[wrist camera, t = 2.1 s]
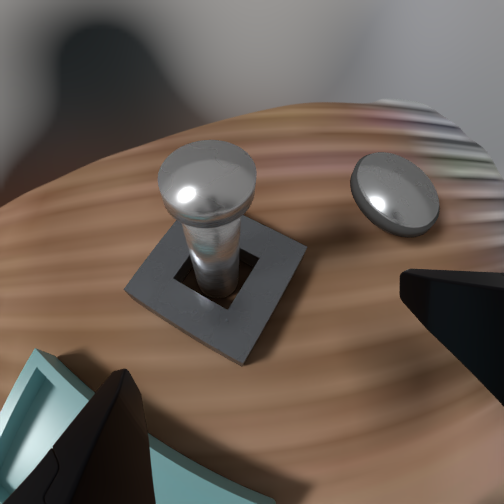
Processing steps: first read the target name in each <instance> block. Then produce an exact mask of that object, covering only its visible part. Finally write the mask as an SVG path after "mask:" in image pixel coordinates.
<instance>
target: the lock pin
mask: <svg viewBox="0 0 504 504" xmlns="http://www.w3.org/2000/svg"><path fill="white" fill-rule="evenodd" d="M255 184H256V167H255V164H254V162H253V160H252V158H251V157H250V155H249V154H248V153H247V152H245V151H244V150H243V149H241V148H240V147H238V146H236V145H234V144H231V143H228V142H224V141H218V140H203V141H197V142H193V143H190V144H187V145H184V146H182V147H180V148H179V149H177V150H175V151H174V152H173V153H171V154H170V155H169V156H168V157H167V158H166V159H165V161H164V162H163V164H162V165H161V167H160V170H159V173H158V185H159V189H160V192H161V196H162V199H163V203H164V205H165V208H166V209H167V211H168V213H169V214H170V215H171V216H172V217H173V218H175V219H176V220H177V221H179V222H181V223H182V226H183V230H184V234H185V238H186V242H187V246H188V249H189V253H190V257H191V260H192V264H193V268H194V271H195V275H196V278H197V282H198V285H199V288H200V289H201V291H202V292H203V293H204V294H205V295H207V296H209V297H211V298H224V297H227V296H229V295H230V294H231V293H233V292H234V290H235V289H236V287H237V285H238V277H239V250H240V225H241V216H242V215H243V214H244V213H245V212H246V211H247V210H248V209H249V207H250V205H251V204H252V201H253V199H254V194H255Z"/></svg>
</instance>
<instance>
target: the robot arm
mask: <svg viewBox="0 0 504 504" xmlns="http://www.w3.org/2000/svg"><path fill="white" fill-rule="evenodd" d="M400 298H401V300H402V302H403V303H404V304H405V305H406V306H407V307H408V308H409V309H410V311H411V312H412V313H413V314H414V315H415V316H416V317H417V318H418V320H419V321H420V322H421V323H422V324H423V325H424V326H425V328H426V329H427V330H428V331H429V332H430V333H431V334H433V335H434V336H435V337H436V338H437V339H438V340H439V341H440V342H441V343H442V344H443V345H444V346H445V347H446V348H447V349H448V350H449V351H450V352H451V353H452V354H453V355H454V356H455V357H456V358H457V359H458V360H459V361H460V362H461V363H462V364H463V365H464V366H465V367H466V368H467V369H468V370H469V371H470V372H471V373H472V374H473V375H474V376H475V377H476V378H477V379H478V380H479V381H480V382H481V383H482V384H483V385H484V386H485V387H486V388H487V389H488V390H489V391H490V392H491V393H492V394H493V395H494V396H495V397H496V399H497V400H498V401H499V402H500V403H501V404H502V405H503V406H504V273H494V272H471V271H449V270H428V269H408V270H406V271H404V272H402V273H401V275H400ZM52 447H53V448H51V449H50V450H49V451H48V452H47V454H46V455H45V456H44V458H43V459H42V460H41V461H40V462H39V464H38V465H37V466H36V467H35V469H34V470H33V471H32V472H31V473H30V474H29V475H28V476H27V477H26V479H25V480H24V481H23V482H22V483H21V484H20V485H19V486H18V487H17V488H16V489H15V491H14V492H13V493H12V494H11V495H10V496H9V497H8V498H7V499H6V500H5V501H4V502H3V503H2V504H156V500H155V493H154V485H153V476H152V467H151V456H150V445H149V437H148V431H147V426H146V421H145V416H144V410H143V404H142V398H141V393H140V391H139V389H138V387H137V385H136V383H135V382H134V380H133V378H132V376H131V374H130V373H129V371H128V370H127V369H120V370H116V371H113V372H112V373H111V375H110V376H109V377H108V378H107V379H106V381H105V382H104V383H103V384H102V385H101V387H100V388H99V389H98V390H97V392H96V393H95V394H94V395H93V396H92V398H91V399H90V400H89V401H88V403H87V404H86V405H85V406H84V407H83V409H82V410H81V411H80V412H79V414H78V415H77V416H76V417H75V419H74V420H73V421H72V422H71V423H70V425H69V426H68V427H67V428H66V430H65V431H64V432H63V433H62V435H61V436H60V437H59V439H58V440H57V441H56V442H55V444H54V445H53V446H52Z"/></svg>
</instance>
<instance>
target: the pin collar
mask: <svg viewBox="0 0 504 504" xmlns="http://www.w3.org/2000/svg"><path fill="white" fill-rule="evenodd" d="M306 249H307V246H305V245H303V244H301V243H299V242H297V241H295V240H293V239H291V238H289V237H287V236H285V235H283V234H281V233H279V232H277V231H275V230H273V229H271V228H268V227H266V226H264V225H262V224H260V223H258V222H256V221H254V220H252V219H250V218H248V217H246V216H244V215H242V216H241V225H240V250H239V260H241V261H243V262H244V263H246V264H248V265H250V266H252V267H254V268H253V270H252V272H251V273H250V275H249V277H248V278H247V280H246V281H245V283H244V285H243V286H242V288H241V290H240V291H239V293H238V294H237V296H236V298H235V299H234V301H233V302H232V304H231V306H230V307H229V309H228V310H227V309H225V308H223V307H221V306H220V305H218V304H216V303H214V302H213V301H211V300H209V299H207V298H206V297H204V296H202V295H200V294H199V293H197V292H195V291H194V290H192V289H190V288H188V287H187V286H185V285H183V284H182V281H183V280H184V278H185V277H186V275H187V274H188V273H189V271H190V270H191V268H192V267H193V264H192V260H191V257H190V253H189V249H188V246H187V242H186V238H185V234H184V230H183V226H182V223H181V222H179V221H177V220H176V221H175V223H174V224H173V225H172V226H171V228H170V229H169V230H168V231H167V233H166V234H165V235H164V236H163V238H162V239H161V240H160V242H159V243H158V244H157V245H156V247H155V248H154V249H153V251H152V252H151V253H150V255H149V256H148V257H147V259H146V260H145V261H144V262H143V264H142V265H141V266H140V268H139V269H138V271H137V272H136V273H135V275H134V276H133V277H132V279H131V280H130V281H129V283H128V284H127V286H126V287H125V288H124V290H125V291H126V293H127V294H128V295H129V296H130V297H131V298H132V299H133V300H135V301H136V302H138V303H139V304H140V305H142V306H143V307H145V308H146V309H148V310H149V311H151V312H152V313H154V314H155V315H157V316H158V317H160V318H161V319H163V320H164V321H166V322H168V323H169V324H171V325H172V326H174V327H175V328H177V329H179V330H180V331H182V332H183V333H185V334H187V335H188V336H190V337H191V338H193V339H195V340H196V341H198V342H200V343H201V344H203V345H205V346H206V347H208V348H210V349H211V350H213V351H215V352H217V353H218V354H220V355H222V356H224V357H225V358H227V359H229V360H231V361H232V362H234V363H236V364H238V365H240V366H243V365H244V363H245V361H246V359H247V358H248V356H249V354H250V353H251V351H252V349H253V347H254V346H255V344H256V342H257V340H258V339H259V337H260V335H261V333H262V332H263V330H264V328H265V326H266V324H267V323H268V321H269V319H270V317H271V316H272V314H273V312H274V310H275V308H276V307H277V305H278V303H279V301H280V299H281V297H282V296H283V294H284V292H285V290H286V288H287V286H288V284H289V283H290V281H291V279H292V277H293V275H294V273H295V271H296V270H297V268H298V266H299V264H300V262H301V260H302V258H303V256H304V253H305V251H306Z"/></svg>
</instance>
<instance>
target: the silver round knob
mask: <svg viewBox="0 0 504 504" xmlns="http://www.w3.org/2000/svg"><path fill="white" fill-rule="evenodd" d="M350 187H351V192H352V195H353V198H354V200H355V202H356V204H357V205H358V207H359V208H360V210H361V211H362V213H363V214H364V215H365V216H366V217H367V218H368V219H369V220H370V221H371V222H372V223H373V224H375V225H376V226H377V227H379V228H380V229H382V230H384V231H386V232H388V233H390V234H393V235H397V236H401V237H417V236H420V235H423V234H424V233H426V232H427V231H428V230H429V229H430V228H431V227H432V226H433V224H434V223H435V222H436V220H437V218H438V216H439V199H438V195H437V192H436V190H435V187H434V185H433V184H432V182H431V181H430V179H429V178H428V177H427V175H426V174H425V173H424V172H423V171H422V170H421V169H420V168H418V167H417V166H416V165H415V164H413V163H412V162H410V161H409V160H407V159H405V158H403V157H400V156H398V155H395V154H391V153H384V152H378V153H373V154H369V155H366V156H364V157H363V158H361V159H360V160H359V161H358V162H357V164H356V166H355V168H354V170H353V173H352V175H351V180H350Z"/></svg>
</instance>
